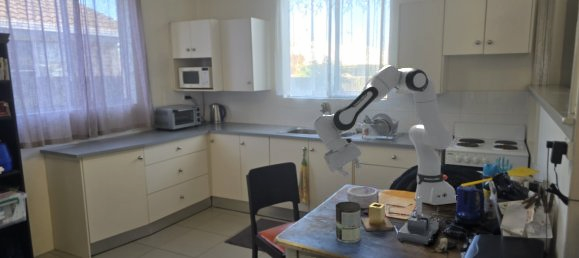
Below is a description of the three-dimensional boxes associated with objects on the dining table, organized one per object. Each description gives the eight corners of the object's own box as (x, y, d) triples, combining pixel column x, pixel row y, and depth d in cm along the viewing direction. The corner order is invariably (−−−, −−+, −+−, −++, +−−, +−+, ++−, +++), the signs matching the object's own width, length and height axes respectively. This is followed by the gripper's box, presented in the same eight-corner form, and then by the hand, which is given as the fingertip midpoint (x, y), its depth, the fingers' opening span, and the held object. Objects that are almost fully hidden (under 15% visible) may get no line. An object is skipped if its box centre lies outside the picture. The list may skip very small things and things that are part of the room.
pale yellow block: (373, 219, 187) (373, 202, 186) (384, 221, 184) (385, 204, 183) (369, 223, 183) (368, 206, 182) (380, 225, 180) (380, 208, 179)
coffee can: (331, 239, 171) (330, 206, 169) (344, 230, 179) (343, 199, 176) (352, 245, 164) (352, 211, 162) (365, 236, 172) (365, 204, 170)
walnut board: (386, 219, 190) (386, 217, 190) (394, 229, 178) (394, 227, 178) (360, 220, 190) (360, 218, 189) (366, 231, 178) (366, 228, 178)
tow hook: (367, 212, 201) (368, 218, 192) (367, 186, 200) (368, 191, 191) (385, 212, 200) (386, 219, 191) (385, 186, 198) (386, 192, 189)
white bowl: (341, 205, 210) (341, 190, 209) (359, 198, 220) (359, 184, 219) (365, 213, 199) (365, 197, 198) (383, 205, 209) (383, 190, 208)
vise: (410, 223, 184) (411, 189, 182) (438, 228, 178) (439, 193, 175) (397, 238, 169) (398, 201, 167) (427, 244, 163) (428, 206, 160)
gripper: (326, 152, 185) (343, 178, 182) (353, 136, 198) (369, 161, 195) (318, 157, 189) (335, 183, 187) (346, 142, 202) (361, 166, 200)
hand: (353, 172), depth 191 cm, fingers open, 8 cm apart
